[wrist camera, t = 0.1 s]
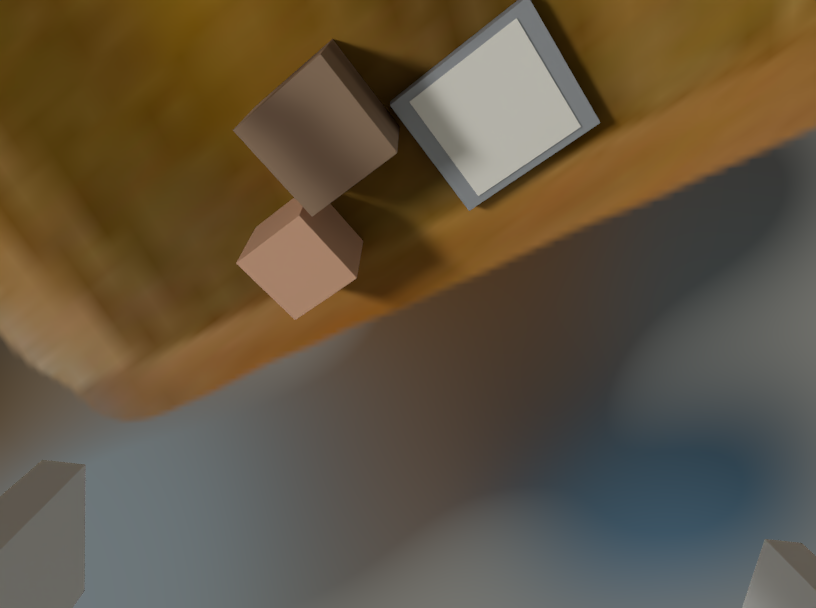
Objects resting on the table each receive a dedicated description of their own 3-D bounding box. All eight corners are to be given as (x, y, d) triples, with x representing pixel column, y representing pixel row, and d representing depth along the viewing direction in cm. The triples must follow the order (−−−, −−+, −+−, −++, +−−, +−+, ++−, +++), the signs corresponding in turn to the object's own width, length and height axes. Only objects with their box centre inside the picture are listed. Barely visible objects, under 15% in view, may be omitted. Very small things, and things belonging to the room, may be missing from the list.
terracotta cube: (312, 182, 36) (299, 215, 32) (363, 240, 38) (356, 278, 34) (256, 226, 38) (236, 263, 34) (307, 279, 40) (295, 319, 36)
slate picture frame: (524, -6, 30) (528, -4, 29) (595, 118, 34) (601, 123, 33) (390, 101, 33) (389, 105, 32) (467, 204, 37) (469, 211, 36)
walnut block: (332, 38, 32) (320, 54, 27) (399, 126, 34) (397, 152, 30) (255, 106, 34) (232, 130, 29) (324, 184, 36) (312, 216, 32)
